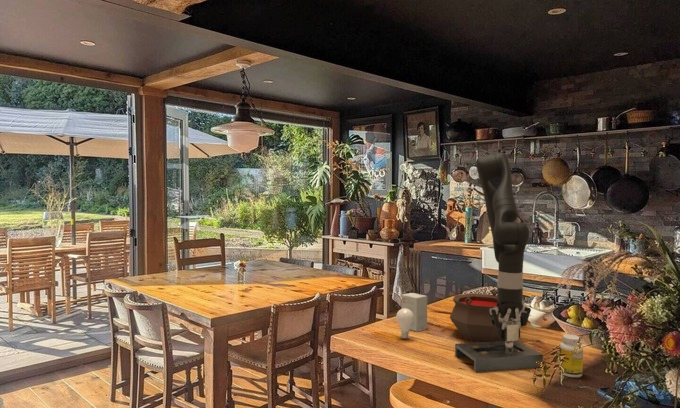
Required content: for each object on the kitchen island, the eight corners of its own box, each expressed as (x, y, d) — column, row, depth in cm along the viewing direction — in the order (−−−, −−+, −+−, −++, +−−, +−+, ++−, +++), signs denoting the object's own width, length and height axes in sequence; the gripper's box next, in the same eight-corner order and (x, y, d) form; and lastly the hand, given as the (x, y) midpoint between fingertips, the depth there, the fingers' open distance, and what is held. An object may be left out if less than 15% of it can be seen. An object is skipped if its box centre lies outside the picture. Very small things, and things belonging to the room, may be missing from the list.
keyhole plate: (516, 352, 155) (516, 339, 155) (542, 367, 142) (542, 353, 142) (454, 356, 151) (455, 343, 151) (475, 372, 137) (475, 358, 137)
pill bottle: (554, 370, 140) (555, 333, 139) (574, 369, 140) (575, 333, 140) (566, 378, 133) (567, 340, 133) (587, 377, 134) (587, 339, 134)
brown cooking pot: (498, 352, 155) (499, 303, 155) (435, 336, 172) (436, 292, 171) (526, 336, 173) (527, 292, 173) (466, 323, 189) (467, 283, 189)
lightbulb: (415, 337, 170) (416, 307, 170) (410, 342, 164) (411, 311, 164) (399, 335, 173) (399, 305, 173) (393, 340, 167) (393, 309, 167)
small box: (427, 329, 181) (427, 295, 181) (416, 332, 177) (416, 298, 177) (411, 324, 187) (412, 292, 187) (400, 327, 183) (401, 294, 183)
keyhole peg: (511, 356, 150) (512, 320, 150) (520, 361, 145) (521, 325, 145) (497, 357, 149) (498, 321, 149) (506, 362, 144) (506, 325, 144)
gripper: (523, 282, 152) (522, 335, 152) (483, 284, 149) (482, 337, 149) (537, 287, 144) (536, 342, 145) (495, 288, 141) (494, 345, 142)
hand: (509, 339), depth 147 cm, fingers closed on keyhole peg, 4 cm apart
